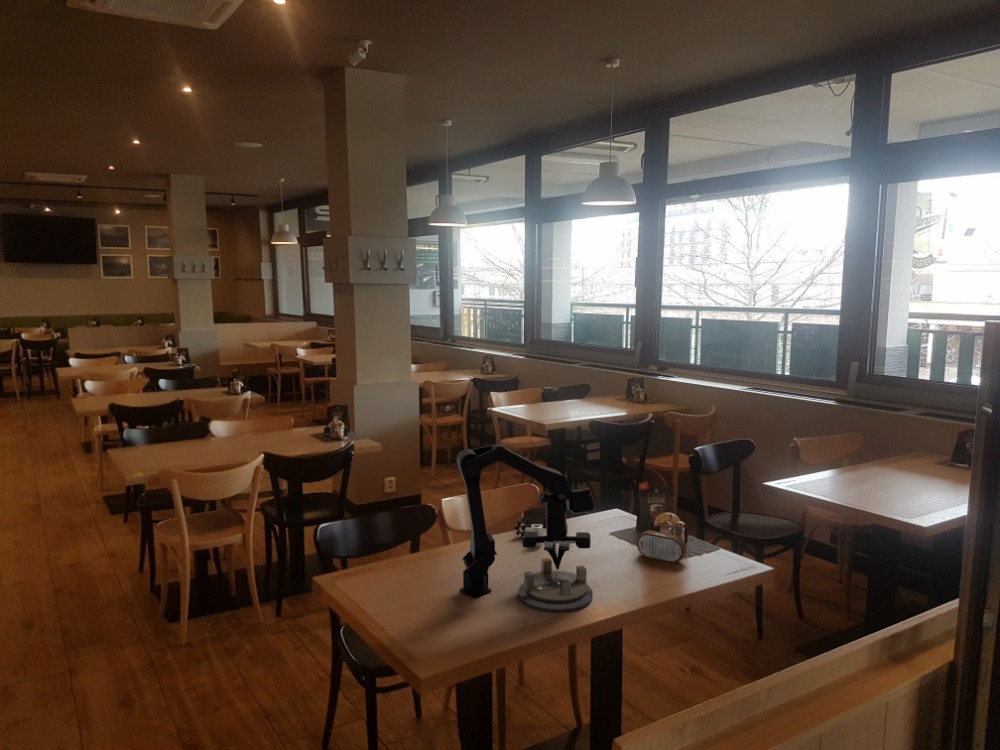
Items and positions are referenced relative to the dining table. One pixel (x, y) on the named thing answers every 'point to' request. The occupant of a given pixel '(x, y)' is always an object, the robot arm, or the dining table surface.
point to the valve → (532, 528)
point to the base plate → (555, 607)
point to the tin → (661, 546)
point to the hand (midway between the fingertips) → (557, 569)
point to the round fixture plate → (555, 584)
